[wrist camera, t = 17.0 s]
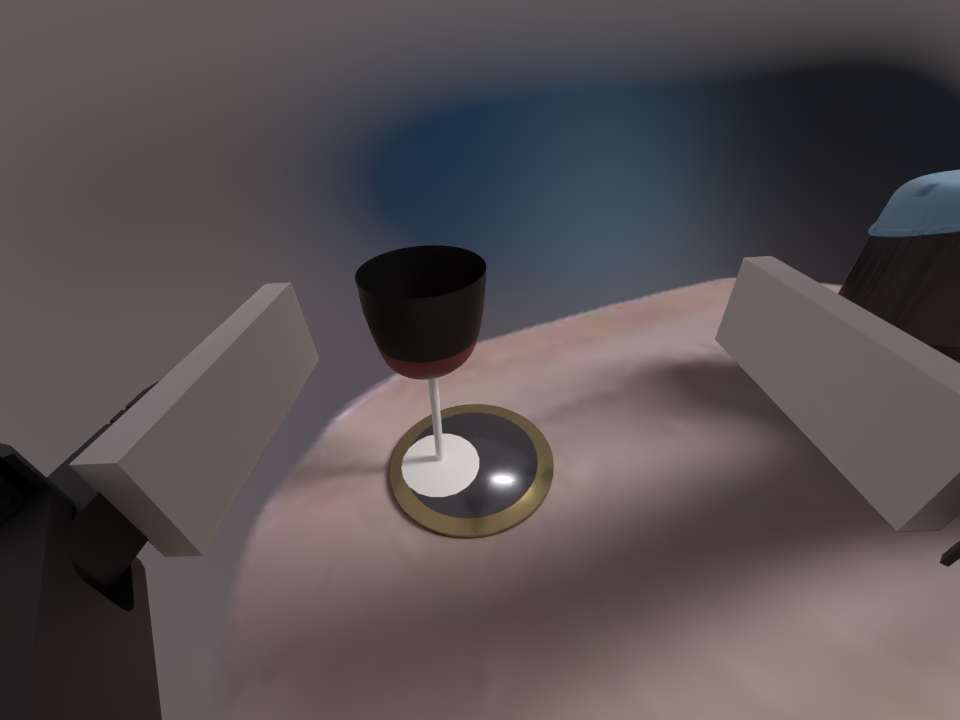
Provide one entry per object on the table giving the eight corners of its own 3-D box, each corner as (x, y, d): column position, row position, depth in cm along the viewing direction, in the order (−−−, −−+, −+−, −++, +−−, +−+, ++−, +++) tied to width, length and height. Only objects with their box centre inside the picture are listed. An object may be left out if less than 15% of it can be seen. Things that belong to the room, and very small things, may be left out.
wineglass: (379, 464, 37) (331, 269, 25) (447, 418, 42) (435, 237, 30) (431, 519, 32) (403, 314, 20) (501, 460, 37) (512, 267, 25)
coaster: (510, 393, 46) (511, 389, 46) (586, 499, 34) (587, 495, 34) (378, 431, 42) (377, 427, 42) (410, 568, 30) (408, 564, 29)
